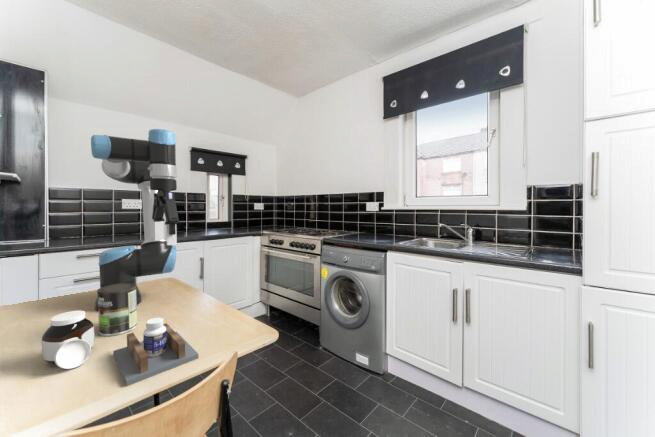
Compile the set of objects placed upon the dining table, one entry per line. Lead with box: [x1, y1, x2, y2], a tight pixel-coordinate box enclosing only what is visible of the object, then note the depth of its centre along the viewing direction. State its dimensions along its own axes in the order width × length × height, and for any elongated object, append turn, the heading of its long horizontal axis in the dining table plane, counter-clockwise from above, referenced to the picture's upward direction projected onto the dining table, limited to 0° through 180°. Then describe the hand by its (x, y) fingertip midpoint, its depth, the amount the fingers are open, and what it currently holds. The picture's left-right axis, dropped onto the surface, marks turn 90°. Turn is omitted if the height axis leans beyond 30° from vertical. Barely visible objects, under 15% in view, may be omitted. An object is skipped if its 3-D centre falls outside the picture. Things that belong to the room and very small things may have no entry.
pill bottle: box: [142, 317, 166, 357], centre depth 75 cm, size 5×5×9 cm
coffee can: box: [96, 283, 138, 337], centre depth 91 cm, size 10×10×14 cm
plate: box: [112, 331, 199, 387], centre depth 75 cm, size 18×16×1 cm
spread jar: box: [41, 310, 95, 370], centre depth 73 cm, size 12×11×12 cm
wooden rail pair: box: [126, 322, 185, 373], centre depth 75 cm, size 16×10×4 cm, turn 46°
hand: (165, 242), depth 92 cm, fingers open, 13 cm apart
